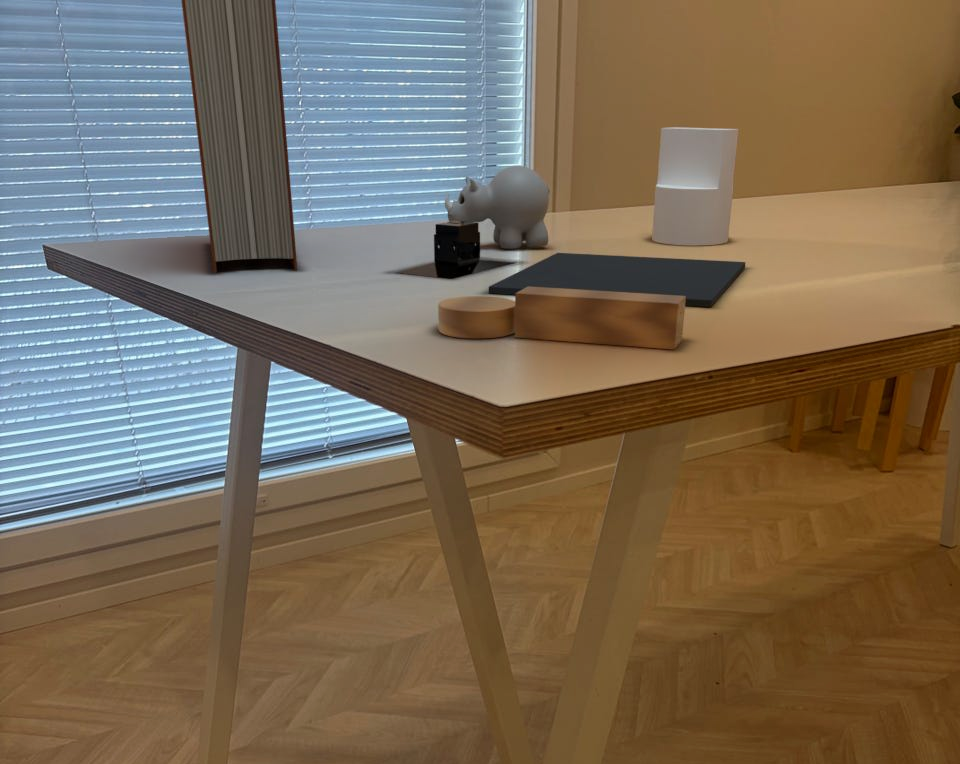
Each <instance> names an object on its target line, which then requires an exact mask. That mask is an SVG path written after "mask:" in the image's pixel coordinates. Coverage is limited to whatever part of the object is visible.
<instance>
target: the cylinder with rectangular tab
mask: <svg viewBox="0 0 960 764" xmlns="http://www.w3.org/2000/svg"><path fill="white" fill-rule="evenodd" d="M738 138H739V128H716V127H715V128H711V127H709V128H708V127H704V128H703V127H678V126H677V127H662V128H660V142H659V153H658V154H659V155H658V167H657V168H658V169H657V183H656V184H655V188H654V189H655V190H654V191H655V192H654V202H653V203H654V204H653V216H652V217H653V218H652V233H651V241H653V242H654V243H657V244H658V243H659V244H666V245H674V246H714V245H715V246H716V245H723V244H726V243H728V242H729V235H730V224H731V216H732V215H731V214H732V206H733V196H734V195H733V194H734V177H735V168H736V167H735V166H736V159H737V149H738Z"/></svg>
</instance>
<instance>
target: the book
mask: <svg viewBox="0 0 960 764" xmlns="http://www.w3.org/2000/svg"><path fill="white" fill-rule="evenodd" d="M276 5H277V4H276V0H181V6H182V7H181V9H182V17H183V26H184V33H185V43H186V50H187V58H188V59H187V60H188V66H189V67H188V69H189V75H190V84H191V91H192V100H193V101H192V102H193V109H194V117H195V125H196V126H195V127H196V133H197V142H198V152H199V159H200V166H201V168H200V169H201V175H202V185H203V193H204V201H205V209H206V218H207V226H208V227H207V228H208V235H209V243H210V249H211V257H212V263H213V269H214V274H215V275H216V274H217V275H218V268H217V262H225V261H226V262H227V261H236V260H239V261H240V260H256V259H260V260H261V259H287V260H289V262H290V264H291V266H292V268H293V269H294V271H298V262H297V261H298V260H297V247H296V236H295V235H296V234H295V225H294V213H293V210H294V209H293V199H292V187H291V176H290V174H291V173H290V163H289V161H290V160H289V152H288V139H287V127H286V126H287V125H286V115H285V114H286V113H285V103H284V90H283V79H282V66H281V55H280V54H281V53H280V42H279V29H278V17H277V6H276Z"/></svg>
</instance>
